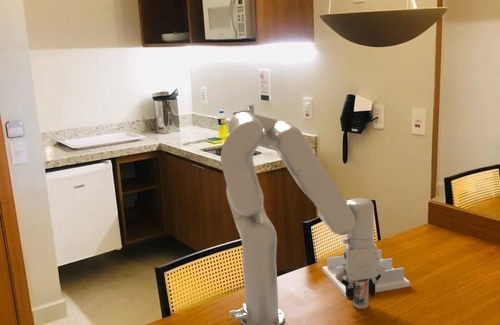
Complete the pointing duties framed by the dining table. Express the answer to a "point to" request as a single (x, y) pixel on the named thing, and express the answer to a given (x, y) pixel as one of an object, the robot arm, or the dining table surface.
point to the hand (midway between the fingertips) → (360, 296)
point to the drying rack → (386, 281)
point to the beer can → (360, 294)
